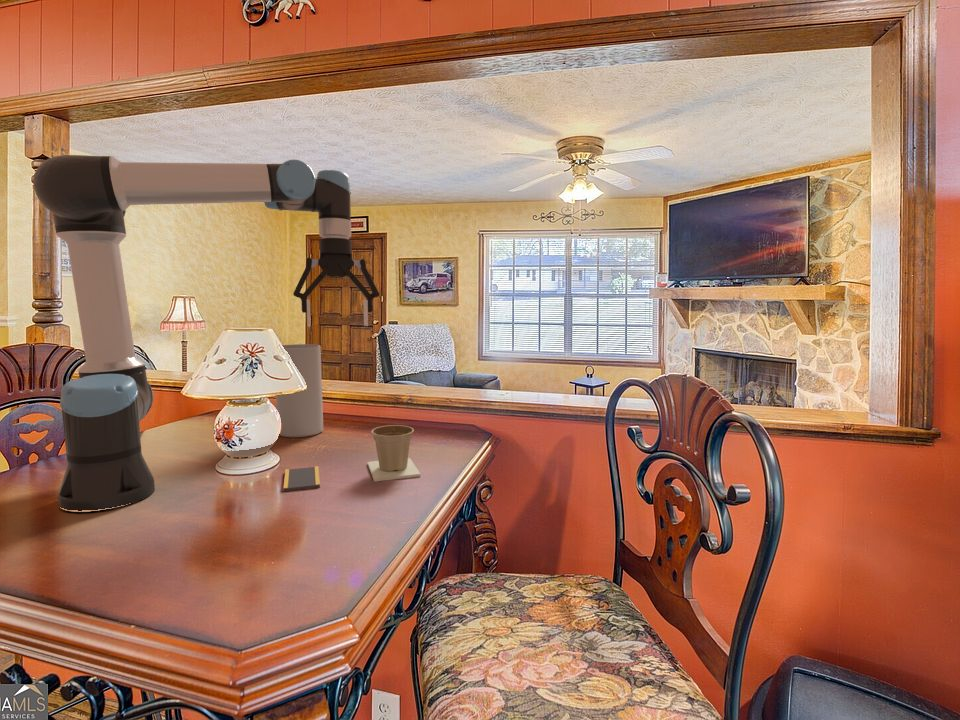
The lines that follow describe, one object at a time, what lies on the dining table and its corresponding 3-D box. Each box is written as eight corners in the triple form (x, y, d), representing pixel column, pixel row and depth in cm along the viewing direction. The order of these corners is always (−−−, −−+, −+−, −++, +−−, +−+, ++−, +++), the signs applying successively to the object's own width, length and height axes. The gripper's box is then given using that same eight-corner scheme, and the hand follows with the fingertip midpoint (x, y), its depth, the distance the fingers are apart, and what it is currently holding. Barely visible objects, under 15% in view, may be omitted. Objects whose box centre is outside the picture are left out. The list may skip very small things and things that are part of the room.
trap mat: (283, 491, 104) (283, 488, 104) (285, 472, 115) (285, 469, 115) (319, 487, 106) (319, 484, 106) (318, 469, 118) (318, 466, 117)
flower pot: (410, 474, 112) (409, 436, 111) (367, 474, 113) (366, 435, 112) (417, 461, 122) (416, 425, 121) (377, 460, 122) (376, 424, 121)
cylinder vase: (267, 436, 145) (263, 347, 142) (295, 425, 157) (292, 343, 154) (306, 439, 141) (302, 349, 138) (331, 428, 153) (329, 345, 150)
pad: (374, 481, 110) (374, 478, 110) (367, 464, 121) (367, 461, 121) (420, 476, 113) (420, 473, 113) (409, 460, 124) (409, 457, 124)
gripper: (384, 241, 133) (386, 324, 135) (281, 238, 125) (284, 325, 127) (389, 238, 126) (390, 326, 128) (279, 234, 118) (283, 327, 120)
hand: (338, 326), depth 128 cm, fingers open, 13 cm apart
